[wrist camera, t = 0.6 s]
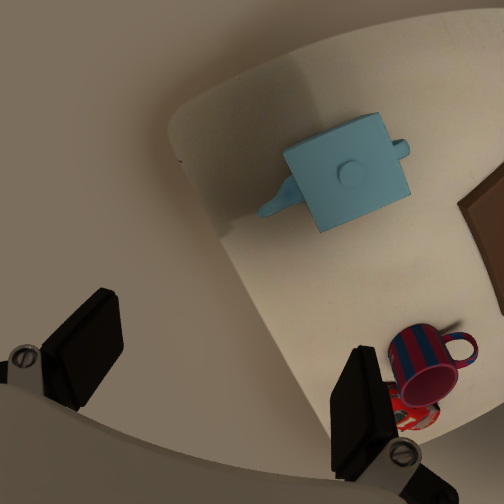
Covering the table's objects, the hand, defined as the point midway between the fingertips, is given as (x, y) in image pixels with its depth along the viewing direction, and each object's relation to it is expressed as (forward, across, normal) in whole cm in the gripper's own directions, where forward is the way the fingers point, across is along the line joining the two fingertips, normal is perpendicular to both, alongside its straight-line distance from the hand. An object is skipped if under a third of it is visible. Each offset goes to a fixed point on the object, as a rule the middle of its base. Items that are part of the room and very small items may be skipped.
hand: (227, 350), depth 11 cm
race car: (+18, -23, +22) cm, 37 cm away
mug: (+18, -21, +11) cm, 30 cm away
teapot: (+18, -4, -5) cm, 19 cm away
